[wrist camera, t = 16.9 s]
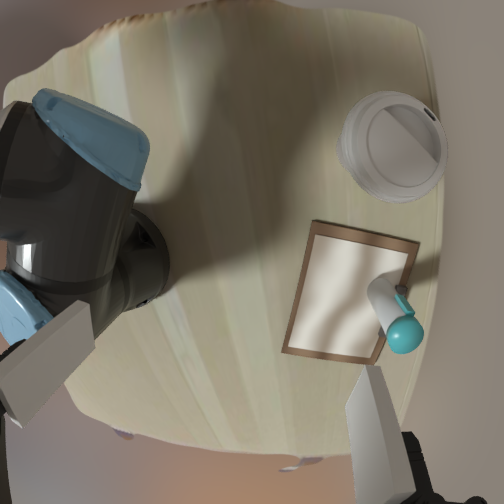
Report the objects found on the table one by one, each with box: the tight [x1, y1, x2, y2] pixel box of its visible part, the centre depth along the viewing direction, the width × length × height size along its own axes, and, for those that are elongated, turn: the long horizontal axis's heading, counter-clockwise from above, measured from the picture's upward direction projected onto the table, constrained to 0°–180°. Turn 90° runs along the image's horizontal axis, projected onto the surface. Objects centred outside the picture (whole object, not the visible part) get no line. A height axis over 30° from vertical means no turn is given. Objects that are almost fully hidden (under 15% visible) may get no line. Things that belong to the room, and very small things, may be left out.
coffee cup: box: [336, 91, 448, 203], centre depth 26 cm, size 10×10×15 cm
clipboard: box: [281, 221, 418, 365], centre depth 38 cm, size 15×20×2 cm
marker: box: [367, 278, 424, 354], centre depth 31 cm, size 4×4×13 cm
